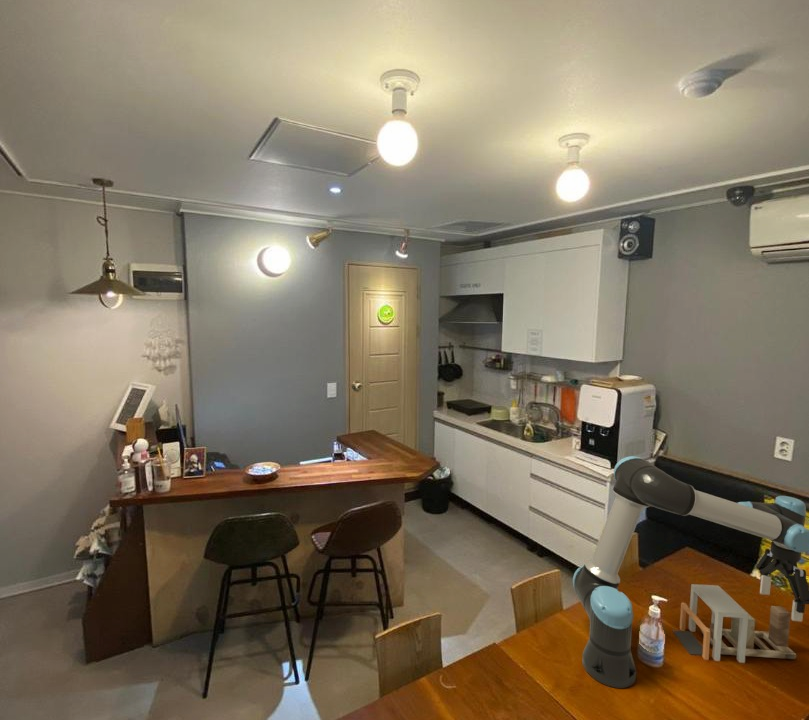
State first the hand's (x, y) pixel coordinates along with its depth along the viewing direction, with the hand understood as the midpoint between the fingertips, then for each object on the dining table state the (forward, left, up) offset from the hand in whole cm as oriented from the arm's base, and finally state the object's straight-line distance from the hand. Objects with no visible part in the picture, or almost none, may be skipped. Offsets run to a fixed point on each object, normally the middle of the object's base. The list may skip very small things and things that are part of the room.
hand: (779, 606), depth 144 cm
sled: (-10, 0, -15) cm, 18 cm away
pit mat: (-27, 0, -15) cm, 31 cm away
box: (-11, 0, -15) cm, 19 cm away
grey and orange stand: (-21, 0, -15) cm, 26 cm away
